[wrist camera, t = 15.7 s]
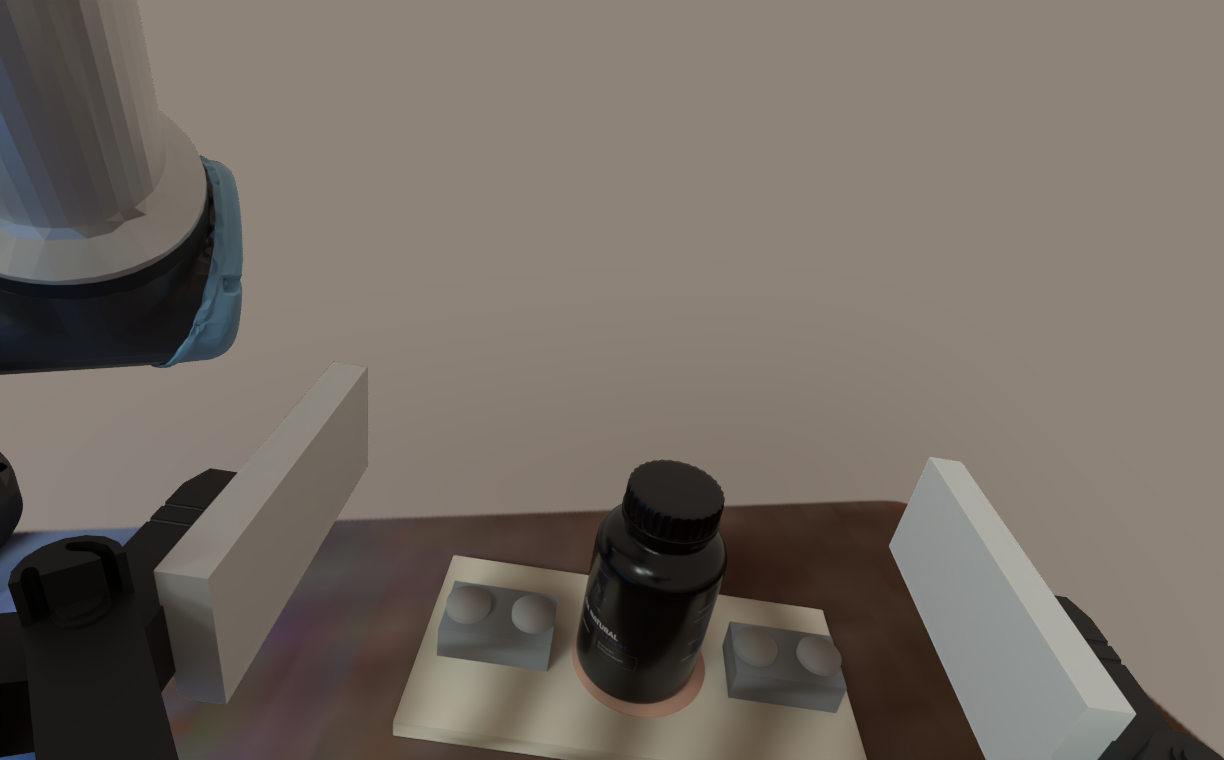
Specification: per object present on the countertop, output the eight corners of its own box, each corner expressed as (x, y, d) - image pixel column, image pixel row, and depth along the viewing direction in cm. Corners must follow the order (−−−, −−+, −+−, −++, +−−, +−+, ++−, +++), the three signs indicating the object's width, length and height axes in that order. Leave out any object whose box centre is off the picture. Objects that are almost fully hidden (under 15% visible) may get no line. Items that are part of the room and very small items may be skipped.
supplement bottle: (553, 677, 38) (583, 498, 32) (601, 596, 44) (633, 432, 38) (674, 732, 36) (727, 551, 30) (707, 639, 42) (757, 474, 36)
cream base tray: (393, 735, 35) (393, 688, 33) (452, 567, 45) (455, 525, 44) (869, 802, 35) (892, 759, 34) (817, 621, 46) (833, 582, 44)
